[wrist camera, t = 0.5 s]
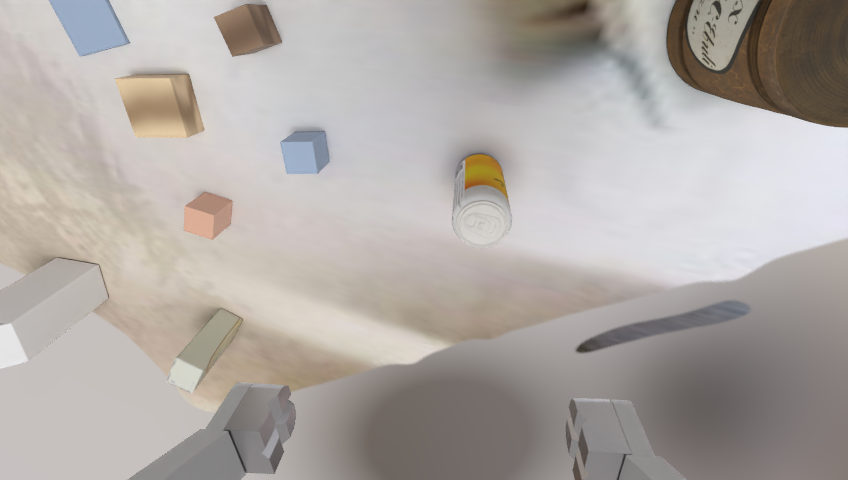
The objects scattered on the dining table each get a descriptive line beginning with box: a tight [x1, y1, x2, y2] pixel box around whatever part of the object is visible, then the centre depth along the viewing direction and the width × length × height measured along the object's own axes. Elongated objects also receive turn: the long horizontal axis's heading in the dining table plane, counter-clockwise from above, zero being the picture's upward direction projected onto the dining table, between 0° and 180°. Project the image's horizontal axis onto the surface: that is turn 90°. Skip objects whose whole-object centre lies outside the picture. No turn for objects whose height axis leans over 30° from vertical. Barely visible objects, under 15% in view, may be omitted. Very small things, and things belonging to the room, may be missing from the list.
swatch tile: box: [49, 0, 129, 56], centre depth 49 cm, size 7×7×1 cm
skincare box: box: [166, 308, 243, 393], centre depth 66 cm, size 6×4×12 cm
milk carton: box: [0, 258, 108, 369], centre depth 61 cm, size 7×7×19 cm
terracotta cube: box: [184, 192, 233, 240], centre depth 58 cm, size 4×4×5 cm
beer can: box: [452, 154, 512, 248], centre depth 47 cm, size 6×6×15 cm
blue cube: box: [280, 131, 329, 174], centre depth 52 cm, size 4×4×5 cm
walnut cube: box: [214, 4, 282, 56], centre depth 46 cm, size 4×4×5 cm
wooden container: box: [667, 0, 848, 127], centre depth 33 cm, size 15×15×22 cm
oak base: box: [115, 74, 204, 138], centre depth 52 cm, size 7×7×4 cm
